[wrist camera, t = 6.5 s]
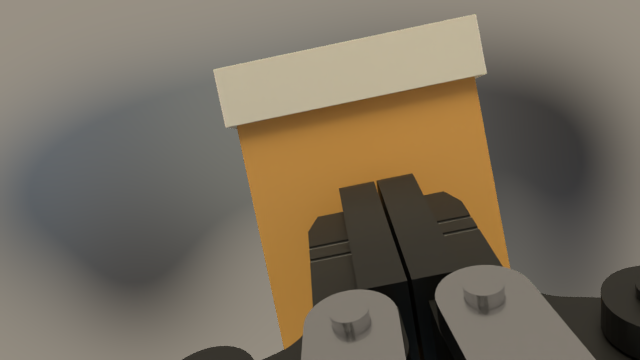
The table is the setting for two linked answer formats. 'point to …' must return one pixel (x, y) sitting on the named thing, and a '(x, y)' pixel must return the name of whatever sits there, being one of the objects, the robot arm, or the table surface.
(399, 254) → the robot arm
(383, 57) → the rocker lever
